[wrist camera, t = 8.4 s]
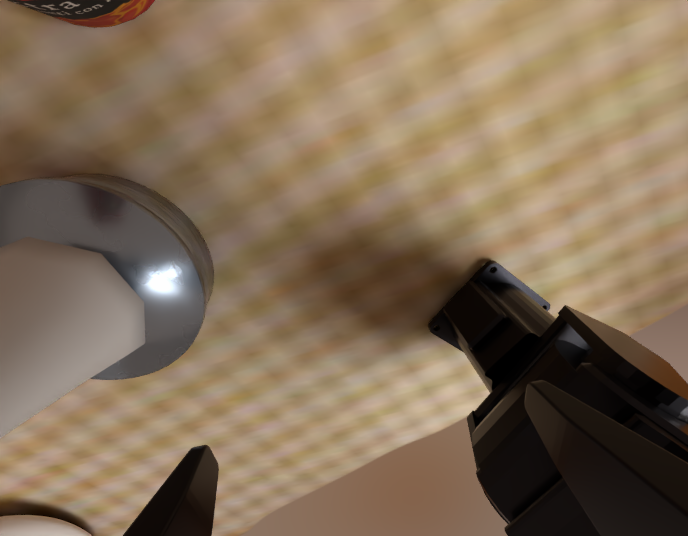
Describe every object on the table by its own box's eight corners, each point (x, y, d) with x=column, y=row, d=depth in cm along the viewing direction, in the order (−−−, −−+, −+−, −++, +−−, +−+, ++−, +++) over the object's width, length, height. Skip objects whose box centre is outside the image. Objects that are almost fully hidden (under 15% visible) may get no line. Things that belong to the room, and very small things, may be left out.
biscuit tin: (254, 242, 20) (243, 267, 17) (171, 366, 23) (150, 405, 20) (48, 119, 16) (-16, 121, 13) (-15, 288, 19) (-78, 322, 16)
